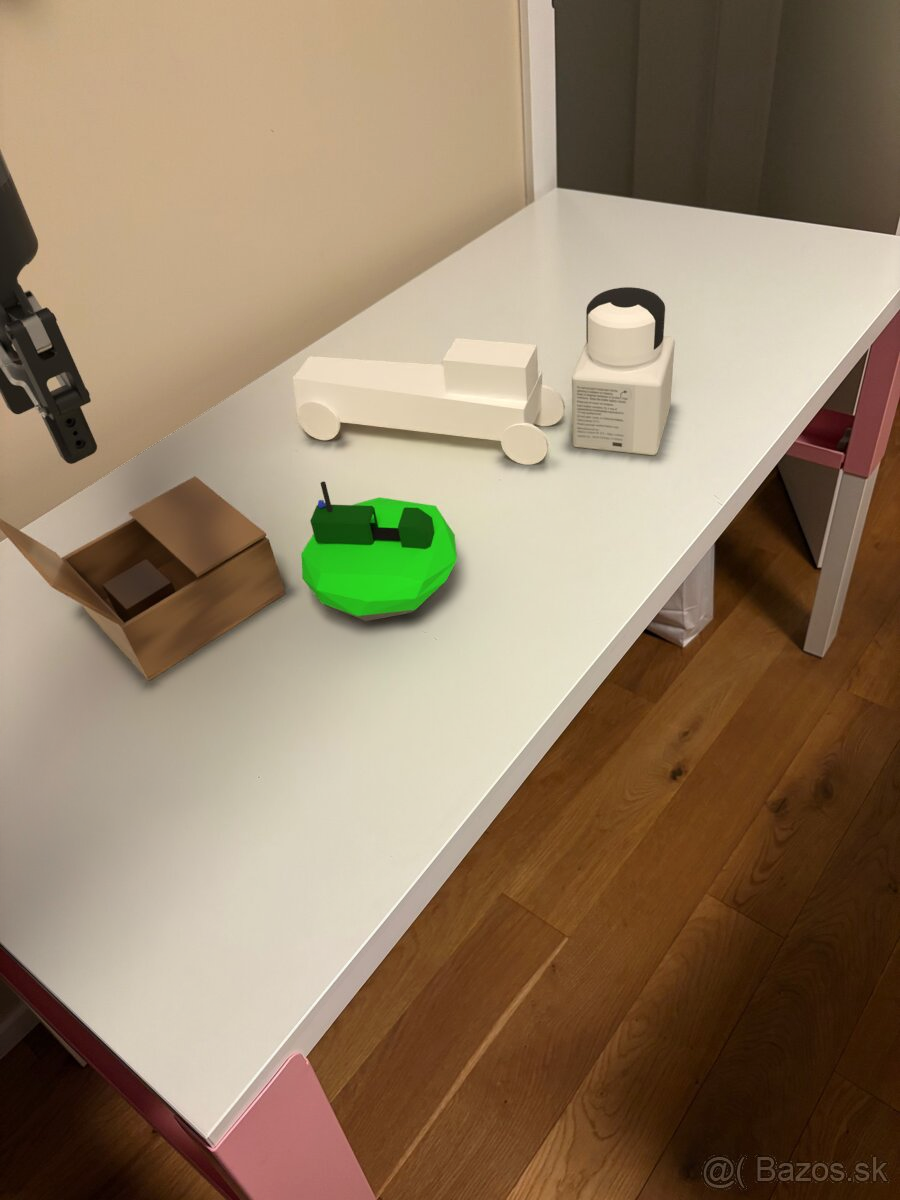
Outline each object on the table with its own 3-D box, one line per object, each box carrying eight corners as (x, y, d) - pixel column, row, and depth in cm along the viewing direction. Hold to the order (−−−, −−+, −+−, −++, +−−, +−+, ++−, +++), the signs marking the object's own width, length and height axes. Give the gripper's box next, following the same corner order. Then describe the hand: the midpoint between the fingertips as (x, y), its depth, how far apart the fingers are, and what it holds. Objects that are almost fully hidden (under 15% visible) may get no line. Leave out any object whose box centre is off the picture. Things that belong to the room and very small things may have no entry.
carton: (148, 681, 72) (118, 621, 67) (86, 611, 78) (54, 552, 74) (286, 593, 77) (266, 532, 73) (217, 534, 84) (195, 475, 79)
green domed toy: (297, 646, 73) (263, 539, 65) (336, 543, 81) (309, 438, 73) (450, 656, 71) (434, 546, 63) (474, 549, 79) (462, 441, 71)
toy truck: (565, 425, 90) (564, 337, 83) (546, 470, 85) (543, 381, 79) (327, 398, 97) (308, 316, 91) (297, 439, 93) (276, 355, 86)
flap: (119, 620, 67) (117, 624, 67) (56, 552, 74) (53, 555, 74) (54, 583, 62) (51, 586, 62) (-9, 513, 68) (-12, 516, 68)
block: (143, 644, 74) (126, 609, 71) (119, 619, 77) (101, 584, 74) (187, 617, 76) (171, 581, 73) (162, 593, 78) (146, 558, 75)
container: (589, 401, 92) (590, 275, 83) (670, 408, 90) (679, 279, 81) (571, 448, 87) (569, 319, 78) (656, 457, 85) (665, 326, 76)
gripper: (56, 190, 49) (154, 447, 60) (-44, 135, 57) (59, 370, 69) (-87, 242, 46) (45, 503, 57) (-171, 176, 54) (-41, 416, 65)
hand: (53, 431), depth 63 cm, fingers open, 8 cm apart
